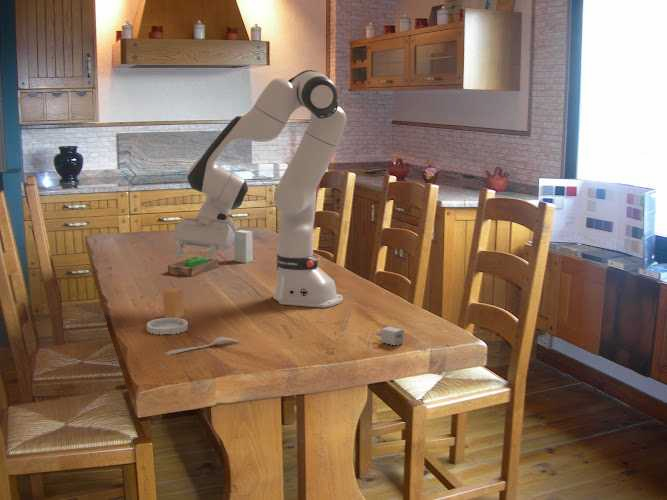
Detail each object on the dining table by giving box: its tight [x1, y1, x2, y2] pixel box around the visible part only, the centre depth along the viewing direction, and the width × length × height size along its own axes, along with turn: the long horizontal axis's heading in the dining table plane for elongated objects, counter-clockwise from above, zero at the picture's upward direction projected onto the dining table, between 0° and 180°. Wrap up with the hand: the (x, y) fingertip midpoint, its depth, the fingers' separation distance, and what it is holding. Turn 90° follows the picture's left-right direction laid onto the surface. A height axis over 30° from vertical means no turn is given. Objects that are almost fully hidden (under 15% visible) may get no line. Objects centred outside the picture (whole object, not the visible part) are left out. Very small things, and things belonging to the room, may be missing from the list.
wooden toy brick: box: [162, 287, 184, 318], centre depth 227 cm, size 4×4×8 cm
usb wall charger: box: [375, 326, 405, 347], centre depth 206 cm, size 4×7×4 cm, turn 48°
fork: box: [166, 336, 241, 356], centre depth 200 cm, size 3×21×3 cm, turn 122°
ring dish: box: [146, 317, 189, 336], centre depth 215 cm, size 11×11×2 cm
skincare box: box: [233, 229, 254, 264], centre depth 302 cm, size 6×4×12 cm
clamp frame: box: [167, 256, 219, 277], centre depth 287 cm, size 10×18×3 cm, turn 155°
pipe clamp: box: [186, 258, 210, 267], centre depth 286 cm, size 11×4×5 cm, turn 145°
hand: (192, 256), depth 234 cm, fingers open, 8 cm apart
